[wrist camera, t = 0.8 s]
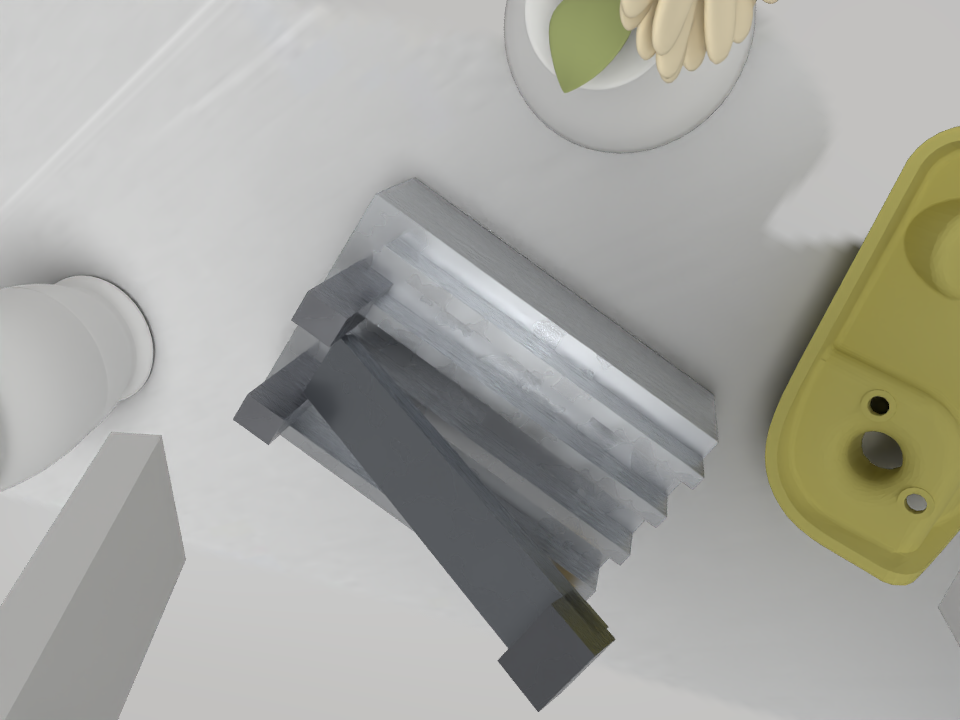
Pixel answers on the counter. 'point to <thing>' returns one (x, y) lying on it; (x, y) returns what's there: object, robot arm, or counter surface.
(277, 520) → the counter surface
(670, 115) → the flower in vase
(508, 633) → the dark grey flat bar
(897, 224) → the plastic component
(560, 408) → the heatsink block
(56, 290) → the jar
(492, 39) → the counter surface
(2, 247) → the counter surface
